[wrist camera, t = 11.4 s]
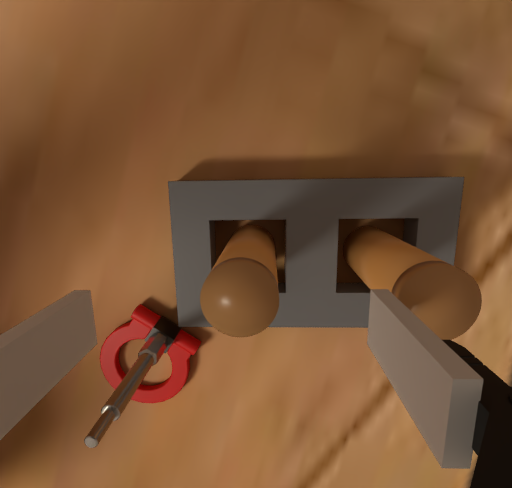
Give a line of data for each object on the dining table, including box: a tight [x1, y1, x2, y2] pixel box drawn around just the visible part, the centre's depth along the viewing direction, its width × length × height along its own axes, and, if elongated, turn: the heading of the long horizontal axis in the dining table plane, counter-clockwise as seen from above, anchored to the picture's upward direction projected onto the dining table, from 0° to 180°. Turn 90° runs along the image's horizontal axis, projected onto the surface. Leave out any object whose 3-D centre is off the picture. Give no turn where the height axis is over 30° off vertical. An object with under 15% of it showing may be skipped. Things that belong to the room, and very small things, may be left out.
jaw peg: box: [200, 225, 279, 337], centre depth 22 cm, size 4×4×12 cm
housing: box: [168, 177, 464, 328], centre depth 26 cm, size 22×12×2 cm, turn 91°
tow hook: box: [84, 304, 201, 448], centre depth 25 cm, size 8×13×9 cm
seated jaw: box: [343, 226, 482, 340], centre depth 22 cm, size 4×4×12 cm
